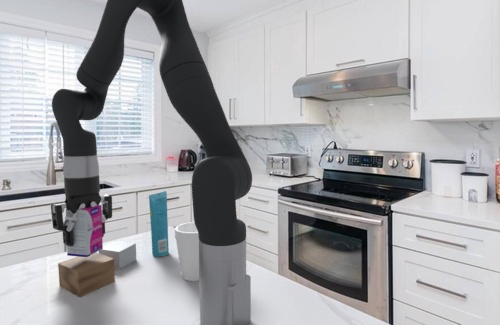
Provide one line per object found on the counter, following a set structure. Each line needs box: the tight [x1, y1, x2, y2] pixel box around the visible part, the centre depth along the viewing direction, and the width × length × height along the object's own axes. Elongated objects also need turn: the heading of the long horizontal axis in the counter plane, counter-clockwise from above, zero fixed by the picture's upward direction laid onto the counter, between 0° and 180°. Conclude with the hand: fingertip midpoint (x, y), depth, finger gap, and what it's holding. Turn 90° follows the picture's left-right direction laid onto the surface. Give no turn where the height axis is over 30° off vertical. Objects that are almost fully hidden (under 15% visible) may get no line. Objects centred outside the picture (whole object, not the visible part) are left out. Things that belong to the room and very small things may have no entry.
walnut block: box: [57, 251, 116, 298], centre depth 79 cm, size 9×9×6 cm
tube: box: [148, 190, 170, 258], centre depth 97 cm, size 7×5×19 cm, turn 160°
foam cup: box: [174, 221, 199, 282], centre depth 83 cm, size 10×9×13 cm
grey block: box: [98, 240, 137, 270], centre depth 91 cm, size 7×7×5 cm
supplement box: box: [65, 204, 104, 257], centre depth 78 cm, size 6×6×12 cm
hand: (85, 240), depth 78 cm, fingers closed on supplement box, 7 cm apart
